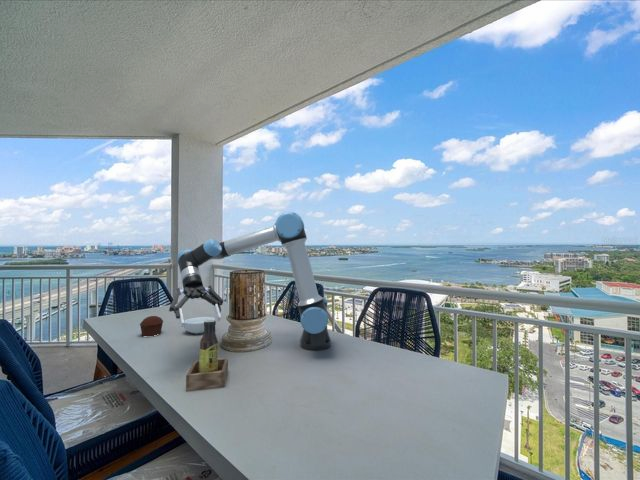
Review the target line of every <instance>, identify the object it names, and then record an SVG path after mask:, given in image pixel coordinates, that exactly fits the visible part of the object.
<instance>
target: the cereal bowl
mask: <svg viewBox="0 0 640 480" xmlns="http://www.w3.org/2000/svg"><path fill="white" fill-rule="evenodd" d="M206 320H215V321H216V319H215V317H211V316H201V317H200V316H198V317H192V318H187V319H185V320H184V325H183V328H184V330H185V331H187V332H189V333H191V334H192V333H196V334H195V335H198V334H197V333H202V334H204V333H203V332H204V321H206Z"/></svg>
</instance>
